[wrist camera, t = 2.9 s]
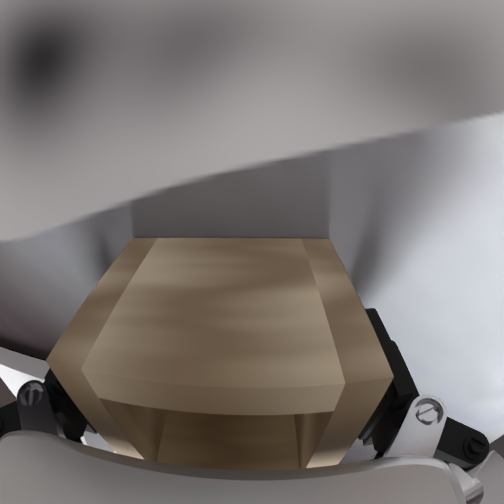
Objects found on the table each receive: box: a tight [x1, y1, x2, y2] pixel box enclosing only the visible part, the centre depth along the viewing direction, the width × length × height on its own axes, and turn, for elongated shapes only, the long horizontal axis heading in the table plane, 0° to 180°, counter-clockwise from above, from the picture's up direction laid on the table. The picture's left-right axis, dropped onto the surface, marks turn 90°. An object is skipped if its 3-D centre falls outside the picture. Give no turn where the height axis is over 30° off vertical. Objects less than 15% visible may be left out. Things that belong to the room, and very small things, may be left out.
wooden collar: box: [46, 238, 394, 470], centre depth 9 cm, size 7×7×6 cm
